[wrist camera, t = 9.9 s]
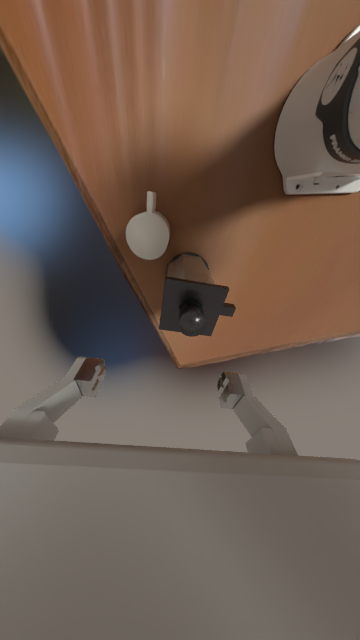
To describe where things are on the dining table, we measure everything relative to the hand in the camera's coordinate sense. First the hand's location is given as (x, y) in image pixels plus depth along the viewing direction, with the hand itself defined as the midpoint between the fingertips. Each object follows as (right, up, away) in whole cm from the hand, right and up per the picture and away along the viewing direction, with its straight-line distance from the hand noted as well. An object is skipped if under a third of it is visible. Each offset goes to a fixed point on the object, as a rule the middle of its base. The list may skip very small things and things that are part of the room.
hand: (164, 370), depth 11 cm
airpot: (+5, +16, +33) cm, 37 cm away
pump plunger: (+3, +15, +32) cm, 35 cm away
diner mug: (-5, +26, +26) cm, 37 cm away
